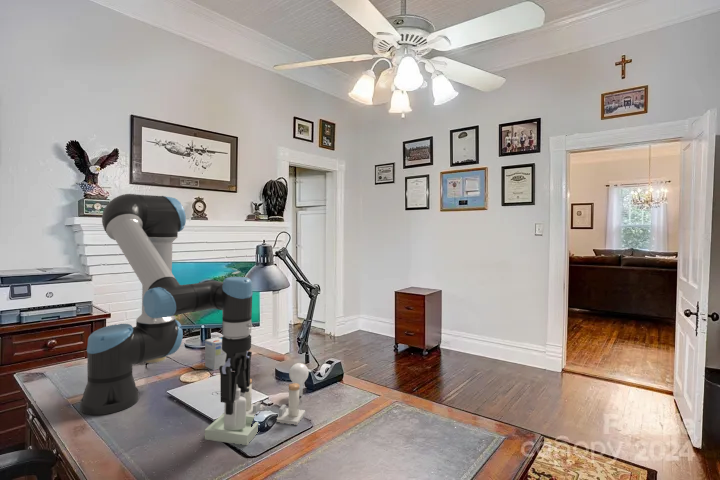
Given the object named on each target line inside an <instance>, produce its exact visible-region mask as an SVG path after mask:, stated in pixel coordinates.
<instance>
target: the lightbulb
mask: <svg viewBox="0 0 720 480" xmlns="http://www.w3.org/2000/svg"><path fill="white" fill-rule="evenodd" d="M289 368H290V369H289V372H288V375H289V379H290V380H291V382H292V383H297V384H299V385H300V388H299V398H300V397H302V396H303V391H304V389H303V387H304V386H305V382H306V381H307V379H308V377H309V373H310V372H309V368H308V367H307V365H306V364H304V363H303V362H302V363H301V362H296V363H294V364H293V365H292V366H291V367H289Z"/></svg>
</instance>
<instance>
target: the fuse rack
mask: <svg viewBox="0 0 720 480" xmlns="http://www.w3.org/2000/svg"><path fill="white" fill-rule="evenodd" d="M246 382H247V381H246ZM252 383H253V379H252V378H251V377H250V386H249V387H247V388H249V392H245V398H246V414H247V415H255V414H256V412H257V411H259V410H261V411H262V410H263V409H264V404H261V401H258V400H257V401H256V402H255V403H252V390H253V388H252V387H253V384H252ZM299 388H300V385H299V384H297V383H293V382H292V383H289V384H288V407H287V404H282V405H281V406H280V407H279V409H278V416H277V417H276V419H277V422H280V423H279V424H284V423H289V424H288V425H291V424H294V425H293V426H299V424H300V423H301V421H302V419H303V418H304V417H305V415H306V410H305V409H300V397H299ZM300 420H301V421H300ZM298 423H299V424H298Z"/></svg>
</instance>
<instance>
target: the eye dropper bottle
mask: <svg viewBox="0 0 720 480" xmlns="http://www.w3.org/2000/svg"><path fill="white" fill-rule="evenodd" d="M240 390H241V389H240V388H238V385H236V394H235V400H236V401H237V412H236V425H235V426H231V425H225V422H226V403H224V407H223V408H224V410H223V413H224V429H225V430H229V431H233V430H240V429H243V428H245V426H246V398H244V397H242V396H240Z"/></svg>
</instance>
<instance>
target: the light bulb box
mask: <svg viewBox="0 0 720 480" xmlns="http://www.w3.org/2000/svg"><path fill="white" fill-rule="evenodd" d="M222 337H223V335H220V336H216V337H213V338H208V339H205V340H204V347H205V348H204V349H205V350H204V357H205V358H204V367H205V368H208V369H210V370H213V371H216V370H219V367H220V366H224V365H225V363H226V362H225V360H226V355H227V354H226V353H225V352H224V351H223V350H222Z"/></svg>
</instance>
